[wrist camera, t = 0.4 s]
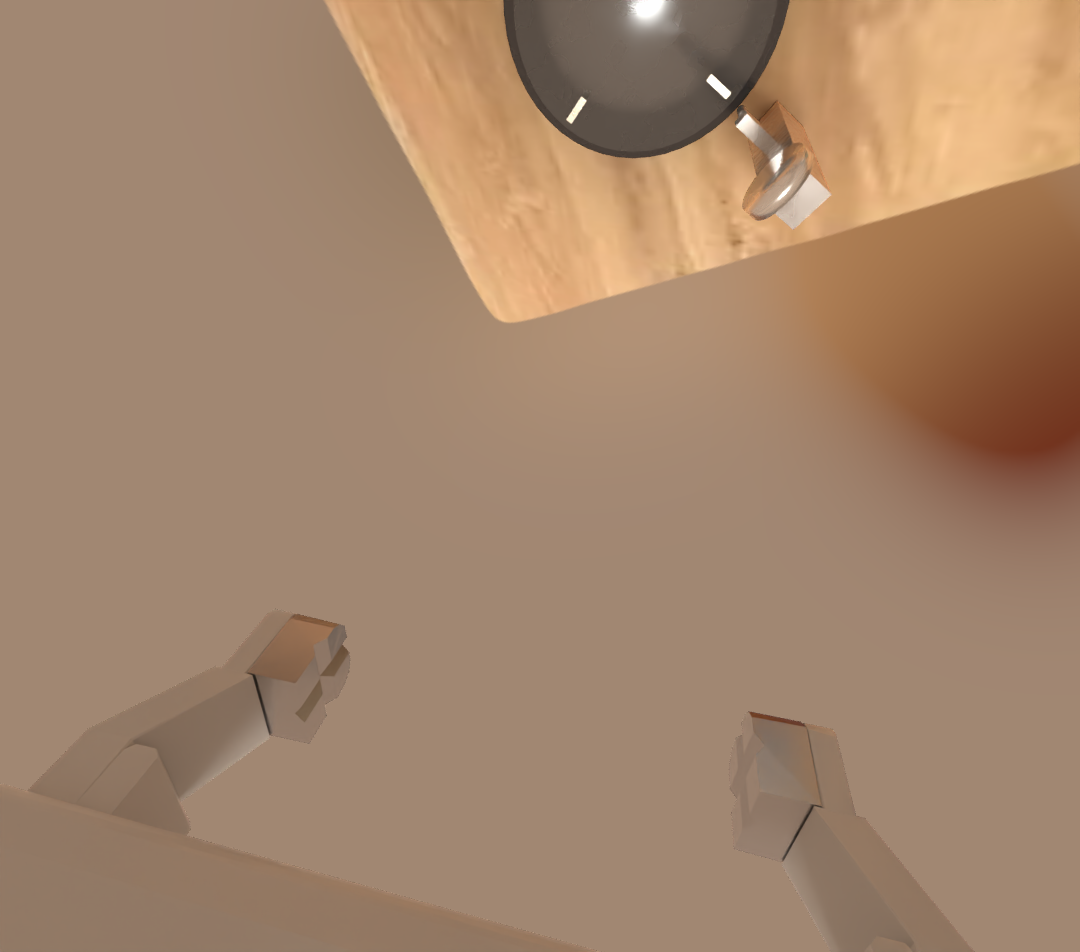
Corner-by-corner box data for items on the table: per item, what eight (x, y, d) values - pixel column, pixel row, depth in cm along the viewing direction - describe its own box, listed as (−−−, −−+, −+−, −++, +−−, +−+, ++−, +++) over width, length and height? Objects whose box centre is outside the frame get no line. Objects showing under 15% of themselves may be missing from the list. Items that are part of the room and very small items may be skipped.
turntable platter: (627, -274, 33) (625, -277, 32) (837, -32, 39) (841, -28, 38) (472, 42, 45) (467, 47, 44) (651, 190, 51) (650, 198, 50)
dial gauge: (759, 62, 45) (786, 137, 35) (812, 116, 47) (853, 202, 37) (712, 119, 48) (723, 203, 38) (763, 167, 50) (787, 260, 40)
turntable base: (626, -310, 34) (625, -315, 32) (855, -40, 40) (860, -37, 39) (460, 40, 47) (455, 45, 46) (652, 199, 54) (652, 206, 53)
